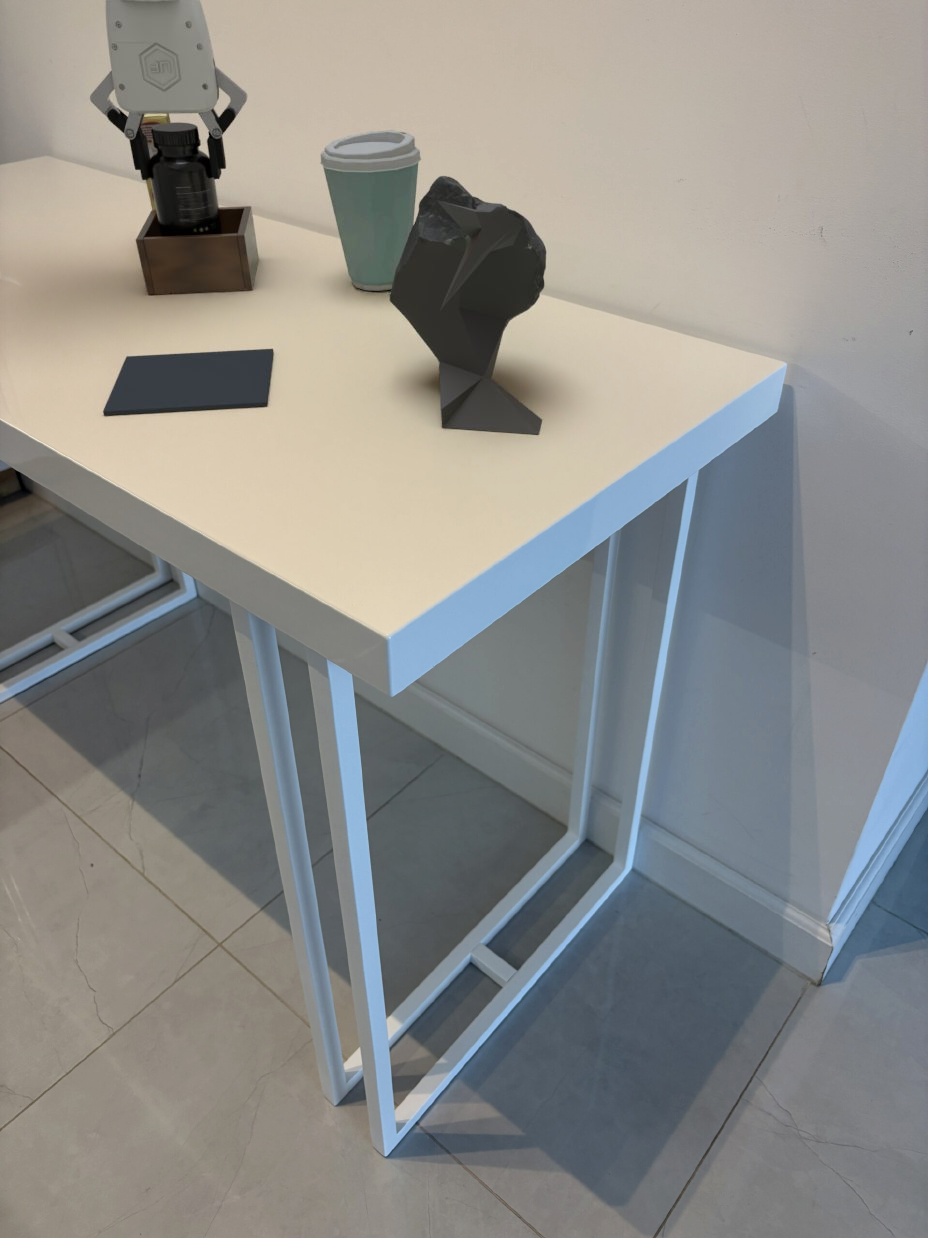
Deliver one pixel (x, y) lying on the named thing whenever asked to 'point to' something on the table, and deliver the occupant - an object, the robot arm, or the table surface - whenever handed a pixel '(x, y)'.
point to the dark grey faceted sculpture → (469, 299)
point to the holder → (200, 256)
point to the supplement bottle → (183, 182)
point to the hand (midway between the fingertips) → (182, 175)
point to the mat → (191, 382)
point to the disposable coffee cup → (373, 201)
